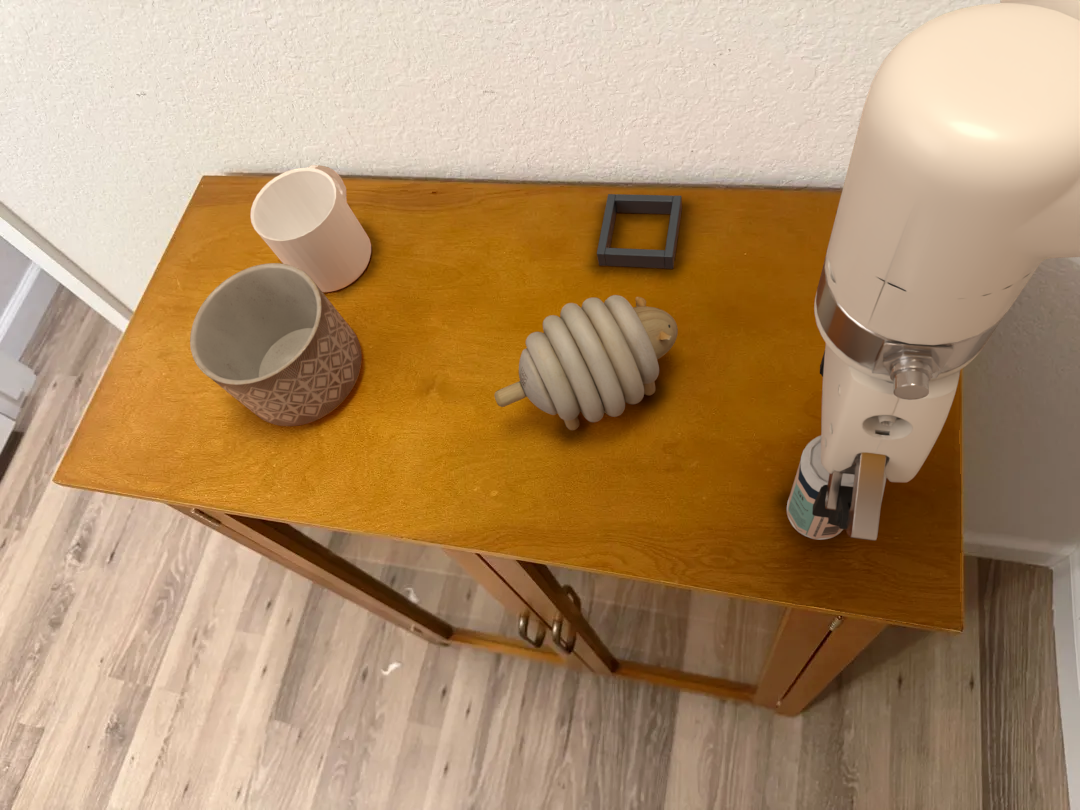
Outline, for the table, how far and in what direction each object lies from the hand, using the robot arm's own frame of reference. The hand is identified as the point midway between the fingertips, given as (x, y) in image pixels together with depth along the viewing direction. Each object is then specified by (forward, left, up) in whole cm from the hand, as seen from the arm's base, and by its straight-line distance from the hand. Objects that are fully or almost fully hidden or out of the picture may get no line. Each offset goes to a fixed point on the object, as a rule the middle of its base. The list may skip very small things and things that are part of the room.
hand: (841, 441), depth 49 cm
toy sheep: (+5, -21, -16) cm, 27 cm away
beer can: (0, 0, -16) cm, 16 cm away
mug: (+14, -54, -16) cm, 58 cm away
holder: (-9, -31, -15) cm, 36 cm away
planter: (+25, -43, -16) cm, 52 cm away
